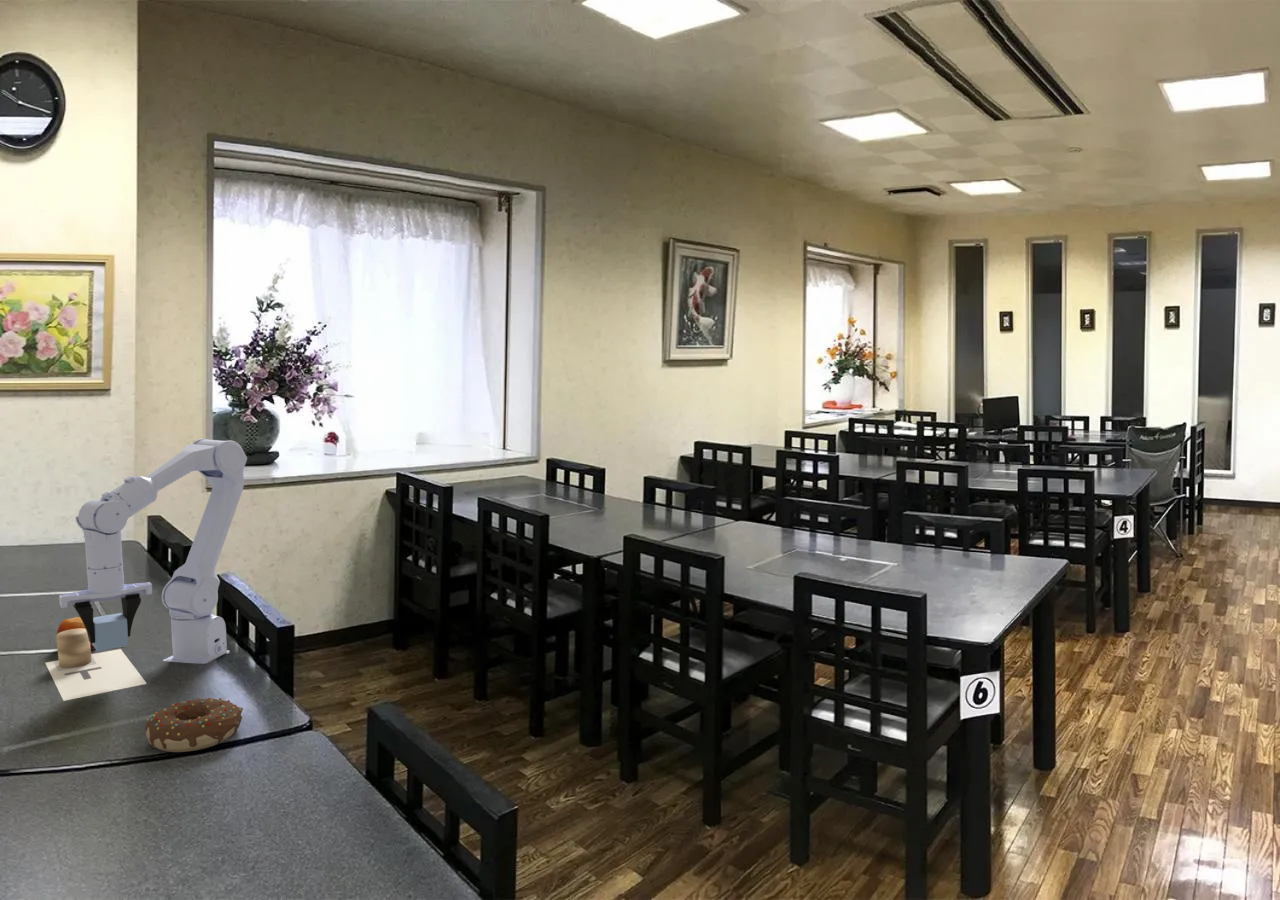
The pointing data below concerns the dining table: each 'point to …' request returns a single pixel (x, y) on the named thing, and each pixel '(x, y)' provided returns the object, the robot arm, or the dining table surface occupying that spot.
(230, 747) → the dining table surface
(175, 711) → the donut
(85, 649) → the wooden cylinder
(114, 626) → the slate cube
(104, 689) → the letter mat
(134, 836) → the dining table surface
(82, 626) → the fruit
